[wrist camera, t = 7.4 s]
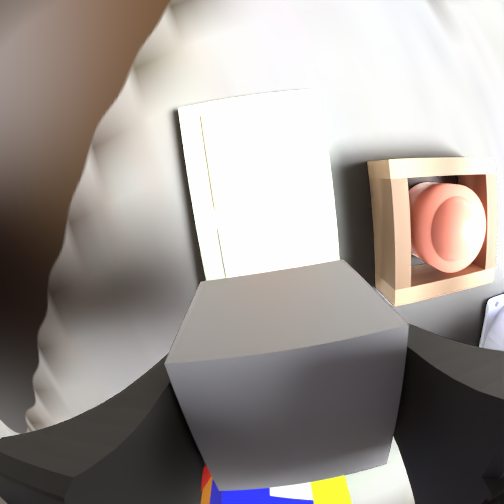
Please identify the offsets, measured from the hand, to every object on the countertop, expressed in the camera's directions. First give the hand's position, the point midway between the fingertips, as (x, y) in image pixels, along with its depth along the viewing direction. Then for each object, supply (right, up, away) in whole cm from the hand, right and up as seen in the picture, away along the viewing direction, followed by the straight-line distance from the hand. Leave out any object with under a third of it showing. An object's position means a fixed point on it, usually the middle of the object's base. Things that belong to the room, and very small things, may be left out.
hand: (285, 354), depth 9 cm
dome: (+10, +5, +8) cm, 14 cm away
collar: (+10, +5, +8) cm, 14 cm away
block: (0, 0, +2) cm, 2 cm away
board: (0, +3, +9) cm, 10 cm away
